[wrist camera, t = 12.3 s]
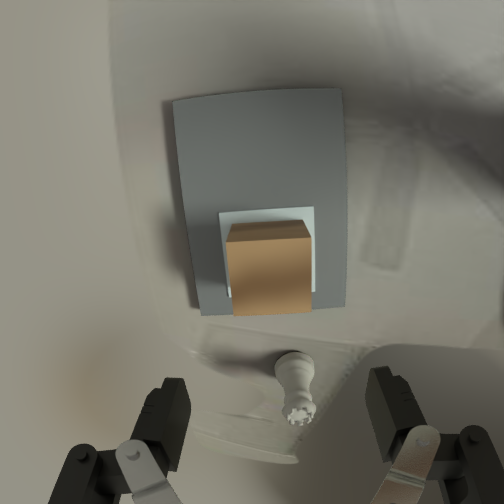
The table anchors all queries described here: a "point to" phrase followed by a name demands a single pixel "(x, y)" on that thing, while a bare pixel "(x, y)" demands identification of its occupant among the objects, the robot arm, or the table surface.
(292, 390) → the rook chess piece
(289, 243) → the walnut block
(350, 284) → the table surface
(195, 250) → the board
